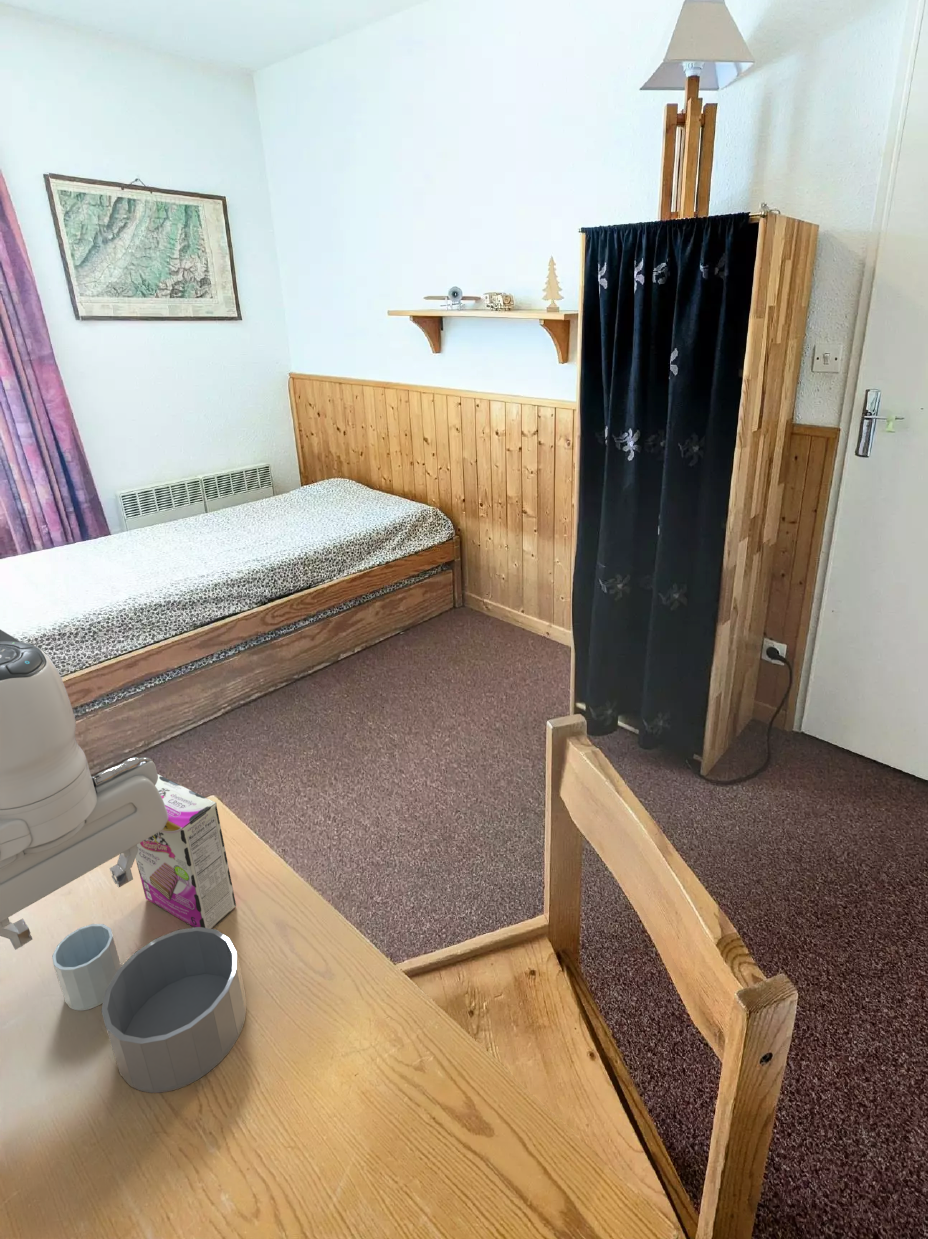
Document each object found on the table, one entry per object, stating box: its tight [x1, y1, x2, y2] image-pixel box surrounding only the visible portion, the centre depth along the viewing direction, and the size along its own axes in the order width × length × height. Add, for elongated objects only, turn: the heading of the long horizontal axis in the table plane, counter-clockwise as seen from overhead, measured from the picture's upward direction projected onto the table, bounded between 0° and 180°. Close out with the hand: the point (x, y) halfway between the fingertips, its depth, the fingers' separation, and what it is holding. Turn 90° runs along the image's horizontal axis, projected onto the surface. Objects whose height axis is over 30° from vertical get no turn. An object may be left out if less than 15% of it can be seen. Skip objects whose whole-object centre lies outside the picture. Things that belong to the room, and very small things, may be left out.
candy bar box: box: [135, 774, 237, 929], centre depth 81 cm, size 11×5×16 cm, turn 63°
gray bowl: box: [100, 927, 247, 1094], centre depth 68 cm, size 12×12×7 cm
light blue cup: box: [51, 923, 122, 1011], centre depth 72 cm, size 5×6×6 cm
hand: (75, 910), depth 70 cm, fingers open, 8 cm apart
